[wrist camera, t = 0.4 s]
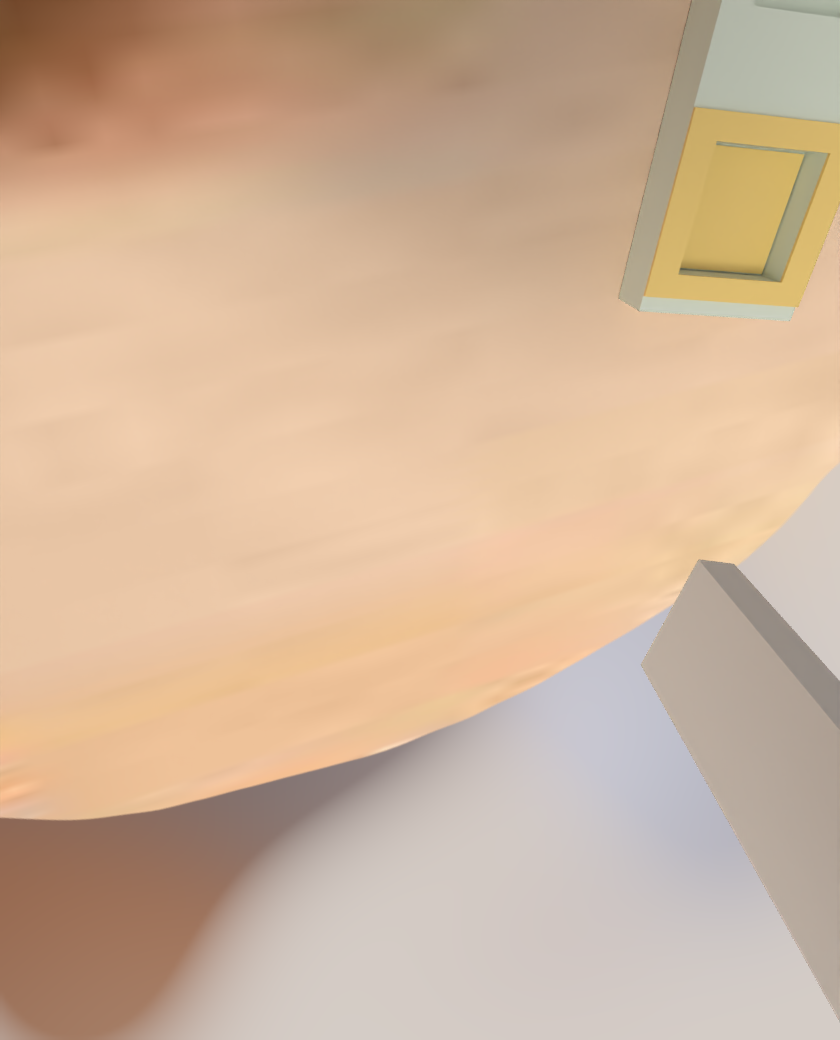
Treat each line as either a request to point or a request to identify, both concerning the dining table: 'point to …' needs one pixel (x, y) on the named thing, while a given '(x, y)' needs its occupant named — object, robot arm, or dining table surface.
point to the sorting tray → (742, 163)
